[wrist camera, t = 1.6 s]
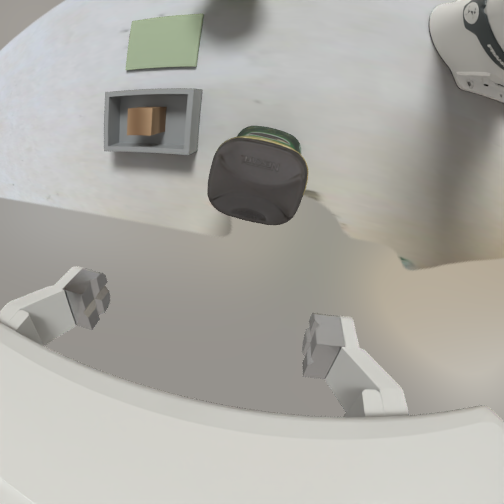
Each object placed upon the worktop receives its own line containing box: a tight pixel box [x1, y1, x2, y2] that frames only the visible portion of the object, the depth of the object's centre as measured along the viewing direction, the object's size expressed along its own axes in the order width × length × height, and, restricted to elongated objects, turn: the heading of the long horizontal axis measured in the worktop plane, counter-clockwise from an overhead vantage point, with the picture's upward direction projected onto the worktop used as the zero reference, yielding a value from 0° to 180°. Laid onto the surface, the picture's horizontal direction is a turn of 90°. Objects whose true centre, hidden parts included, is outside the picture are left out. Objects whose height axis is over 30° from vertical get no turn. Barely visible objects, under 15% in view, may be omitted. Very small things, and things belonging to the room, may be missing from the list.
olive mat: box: [126, 14, 204, 70], centre depth 32 cm, size 12×9×1 cm
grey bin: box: [104, 88, 202, 155], centre depth 37 cm, size 15×10×4 cm, turn 83°
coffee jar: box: [208, 126, 308, 225], centre depth 32 cm, size 10×8×19 cm
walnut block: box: [127, 107, 167, 136], centre depth 37 cm, size 4×4×5 cm
